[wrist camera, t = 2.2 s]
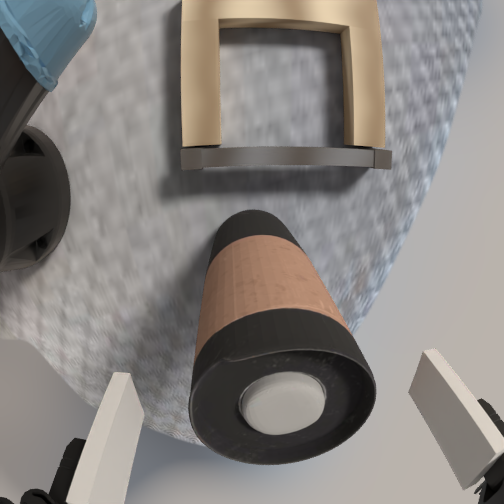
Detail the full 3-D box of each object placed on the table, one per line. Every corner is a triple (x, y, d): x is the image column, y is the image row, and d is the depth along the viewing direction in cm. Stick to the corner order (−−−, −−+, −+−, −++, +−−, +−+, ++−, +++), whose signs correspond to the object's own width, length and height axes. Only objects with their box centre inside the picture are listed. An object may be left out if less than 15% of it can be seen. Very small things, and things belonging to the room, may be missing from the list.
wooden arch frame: (188, 166, 26) (181, 170, 23) (186, -5, 21) (180, -22, 17) (372, 164, 27) (391, 169, 24) (365, 5, 21) (381, -9, 18)
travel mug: (295, 277, 31) (367, 448, 12) (218, 287, 31) (209, 473, 12) (289, 201, 28) (393, 324, 9) (205, 212, 28) (159, 358, 9)
